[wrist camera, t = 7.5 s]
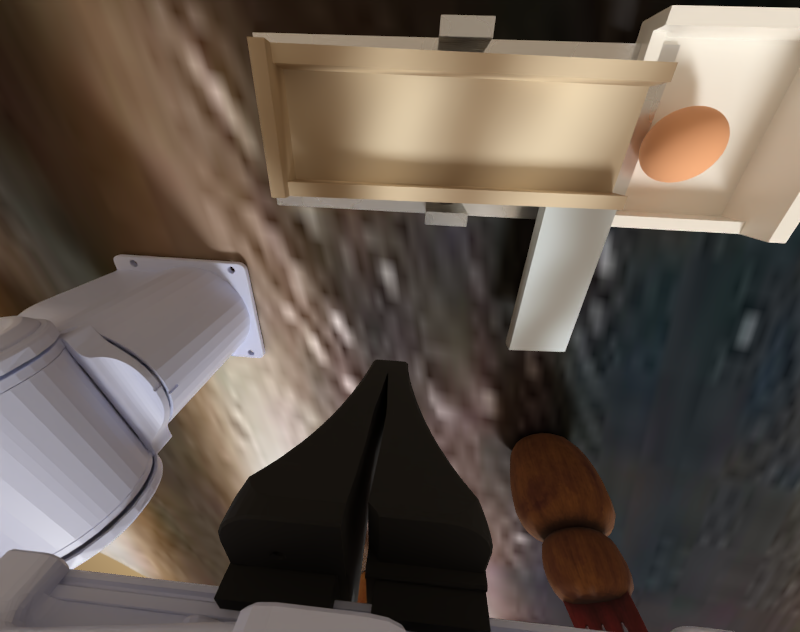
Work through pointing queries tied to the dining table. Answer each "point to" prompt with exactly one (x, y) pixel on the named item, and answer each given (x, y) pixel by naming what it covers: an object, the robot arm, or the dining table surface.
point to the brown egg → (684, 144)
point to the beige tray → (463, 146)
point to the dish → (745, 112)
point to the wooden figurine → (573, 532)
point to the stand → (478, 38)
